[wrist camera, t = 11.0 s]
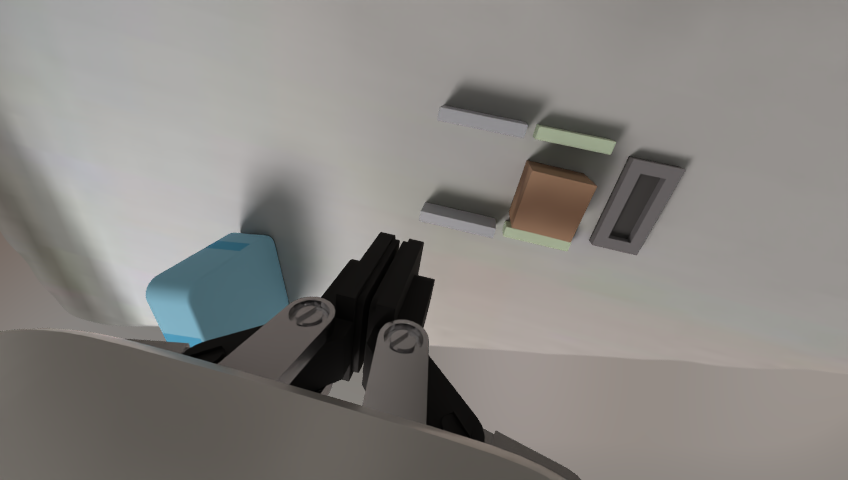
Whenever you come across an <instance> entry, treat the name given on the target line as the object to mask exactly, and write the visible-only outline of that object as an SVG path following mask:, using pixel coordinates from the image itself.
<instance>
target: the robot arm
mask: <svg viewBox="0 0 848 480" xmlns="http://www.w3.org/2000/svg"><path fill="white" fill-rule="evenodd" d="M399 243H400V241H399V240H396V239H395V235H391V234H387V233H383V232H380V234H379V235H378V236H377V238H376V239H375V241H374V242H373V243H372V245H371V246H370V247H369V249H368V250H367V252H366V253H365V254H364V256H363V257H362V259H361V260H360V261H358V260H353V259H352V260H350V261H349V262H348V263H347V265H346V266H345V267H344V269H343V270H342V271H341V272H340V274H339V275H338V276H337V278H336V279H335V280H334V281H333V283H332V284H331V285H330V287H329V288H328V289H327V290H326V292H325V293H324V294H323V296H322V297H321V298H320V297H304V298H300V299H297V300H295V301H293V302H292V303H290V304H289V305H287V306H286V307H285V308H284V309H283V310H281V311H280V312H279V313H278V314H277V315H275V316H274V317H273V318H272V319H271V320H269V321H268V322H267V323H266V324H265V325H261V326H258V327H254V328H251V329H247V330H243V331H240V332H236V333H232V334H229V335H225V336H222V337H218V338H214V339H211V340H207V341H204V342H201V343H199V344H196V345H194V346H193V347H190V345H189V343H180V342H165V341H150V340H135V339H121V338H117V337H112V336H107V335H103V334H98V333H92V332H85V331H78V330H68V329H50V328H38V329H17V330H6V331H0V480H581V479H580V478H579V477H578V476H577V475H576V474H575V473H573V472H572V471H571V470H569V469H568V468H566V467H564V466H562V465H560V464H558V463H557V462H554V461H553V460H551V459H549V458H547V457H545V456H543V455H541V454H539V453H538V452H536V451H534V450H532V449H530V448H528V447H526V446H524V445H522V444H520V443H519V442H517V441H515V440H513V439H511V438H509V437H507V436H505V435H503V434H501V433H500V432H498V431H495V433H494V434H493V433H491V432H489V431H487V430H485V429H483V427H482V425H481V423H480V422H479V420H478V418H477V417H476V415H475V414H474V413H473V412H472V410H471V409H470V408H469V406H468V405H467V404H466V403H465V401H464V400H463V399H462V397H461V396H460V395H459V394H458V392H457V391H456V390H455V388H454V387H453V386H452V385H451V383H450V382H449V381H448V379H447V378H446V377H445V376H444V374H443V373H442V372H441V370H440V369H439V368H438V367H437V365H436V364H435V363H434V361H433V360H432V359H431V358H430V356H429V354H428V353H429V339H428V335H427V333H426V331H425V330H424V329H423V327H424V324H425V320H426V316H427V312H428V308H429V304H430V300H431V295H432V291H433V286H434V281H435V279H431V278H427V277H423V276H419V275H418V272H419V267H420V261H421V256H422V251H423V245H424V242H421V241H417V240H413V239H409V241H408V242H405V241H403V243H402V244H401V246H400V248H399ZM363 363H364V366H363V380H362V385H363V387H364V389H365V396H364V400H363V405H362V406H361V405H357V404H353V403H350V402H347V401H343V400H340V399H337V398H333V397H330V396H328V394H329V393H330V391H331V388H332V384H333V383H334V382H336V381H339V380H341V379H342V380H346V381H349V380H350V378H351V376H352V374H353V372H359V371H360V369H361V367H362V365H363Z"/></svg>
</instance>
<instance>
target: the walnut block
mask: <svg viewBox="0 0 848 480" xmlns="http://www.w3.org/2000/svg"><path fill="white" fill-rule="evenodd" d="M596 188H597V186H596V185H595V184H594V183H593V182H592V181H591V180H590V179H589V178H588V177H587V176H586V175H585V174H584V173H579V172H575V171H571V170H567V169H562V168H558V167H554V166H550V165H546V164H541V163H537V162H533V161H529V160H527V161H526V164H525V167H524V170H523V173H522V176H521V178H520V181H519V184H518V187H517V190H516V193H515V195H514V198H513V201H512V204H511V207H510V210H509V215H510V221H511V227H512V228H515V229H519V230H523V231H527V232H531V233H535V234H539V235H542V236H546V237H550V238H554V239H558V240H562V241H566V242H571V240H572V238H573V236H574V234H575V232H576V230H577V228H578V226H579V224H580V221H581V219H582V217H583V215H584V213H585V211H586V209H587V207H588V205H589V202H590V200H591V198H592V196H593V194H594V192H595V190H596Z"/></svg>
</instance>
